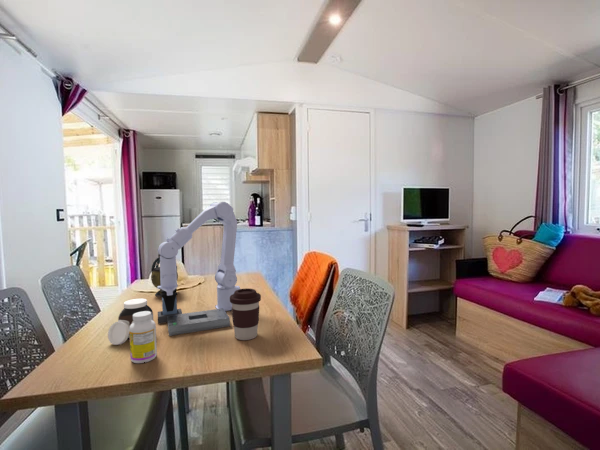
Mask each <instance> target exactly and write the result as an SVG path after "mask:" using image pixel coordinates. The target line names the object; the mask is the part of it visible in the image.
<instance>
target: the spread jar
mask: <svg viewBox="0 0 600 450" xmlns="http://www.w3.org/2000/svg"><path fill="white" fill-rule="evenodd" d="M142 311H150V312H151V320H153V321H154V312H153V309H152V308H151V307H150V306H149V305H148V299H146V298H142V297H141V298H133V299H128V300H126V301H124V302H123V309H122V310H121V311H120V313H119V315H118V318H117V321H115V322H113V323H112V324H111V325H110V327H109V328H108V331H107V339H108V341H109V343H110V344H112V345H114V346H117V345H118V346H119V345H122V344H124V343H126V341H130V335H129V327H130V325H131V324H132V323H134V321H133V314H135V313H137V312H142ZM154 322H155V321H154Z"/></svg>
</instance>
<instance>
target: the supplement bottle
mask: <svg viewBox="0 0 600 450" xmlns="http://www.w3.org/2000/svg"><path fill="white" fill-rule="evenodd" d="M153 320H154V319H153ZM153 320H151V312H150V311H142V312H137V313H135V314H133V321H134V323H132V324H131V325H130V327H129V335H130V340H129V349H130V350H129V355H130V360H131V362H132V363H134V364H144V362H145V363H148V362H151V361H153V360H154V359H156V357H157V354H158V352H157V350H158V349H157V327H156V321H153Z"/></svg>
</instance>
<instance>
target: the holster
mask: <svg viewBox="0 0 600 450" xmlns="http://www.w3.org/2000/svg"><path fill="white" fill-rule="evenodd" d="M177 314H183V311H182V309H181V308H177V313H176V314H168V315H163V310H162V311H161V310H160V311H157V324H165V323H166V324H167V323H168V320H167V316H170V315H177Z"/></svg>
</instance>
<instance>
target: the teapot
mask: <svg viewBox="0 0 600 450" xmlns="http://www.w3.org/2000/svg"><path fill="white" fill-rule="evenodd" d="M160 256H161V255H160V254H159V253H158V254H157V257H156V258H155V260H154V261H153V262H152V265H151V268H150V269H151V274H150V279H151V283H152V285H153V287H154V288H156V289H157V286H161V282H160ZM176 269H177V270H178V266H177V264H176ZM178 274H179V273H178V272H177V281H178V280H179V275H178ZM161 290H162V289H158V291H157V292H156V293H155V294H154V296H155V297H157V296H158V298H159V297H160V298H163V297H162V296H161Z"/></svg>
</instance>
